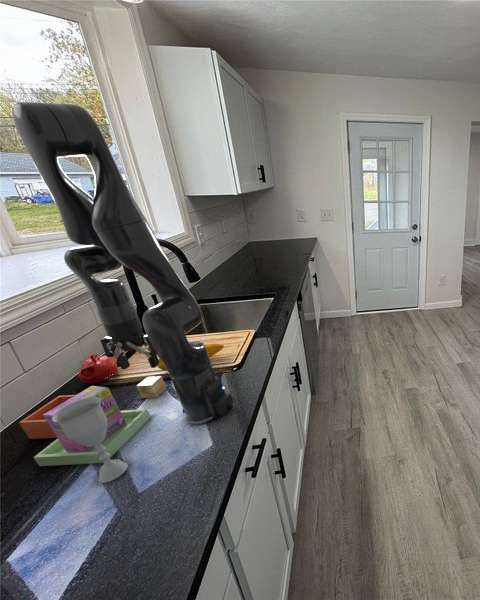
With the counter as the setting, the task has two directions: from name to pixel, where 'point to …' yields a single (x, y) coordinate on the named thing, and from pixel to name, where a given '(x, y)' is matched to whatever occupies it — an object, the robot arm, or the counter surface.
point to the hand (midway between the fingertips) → (140, 367)
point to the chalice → (90, 432)
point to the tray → (113, 443)
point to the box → (108, 407)
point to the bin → (42, 420)
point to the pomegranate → (97, 369)
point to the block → (151, 387)
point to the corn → (211, 351)
